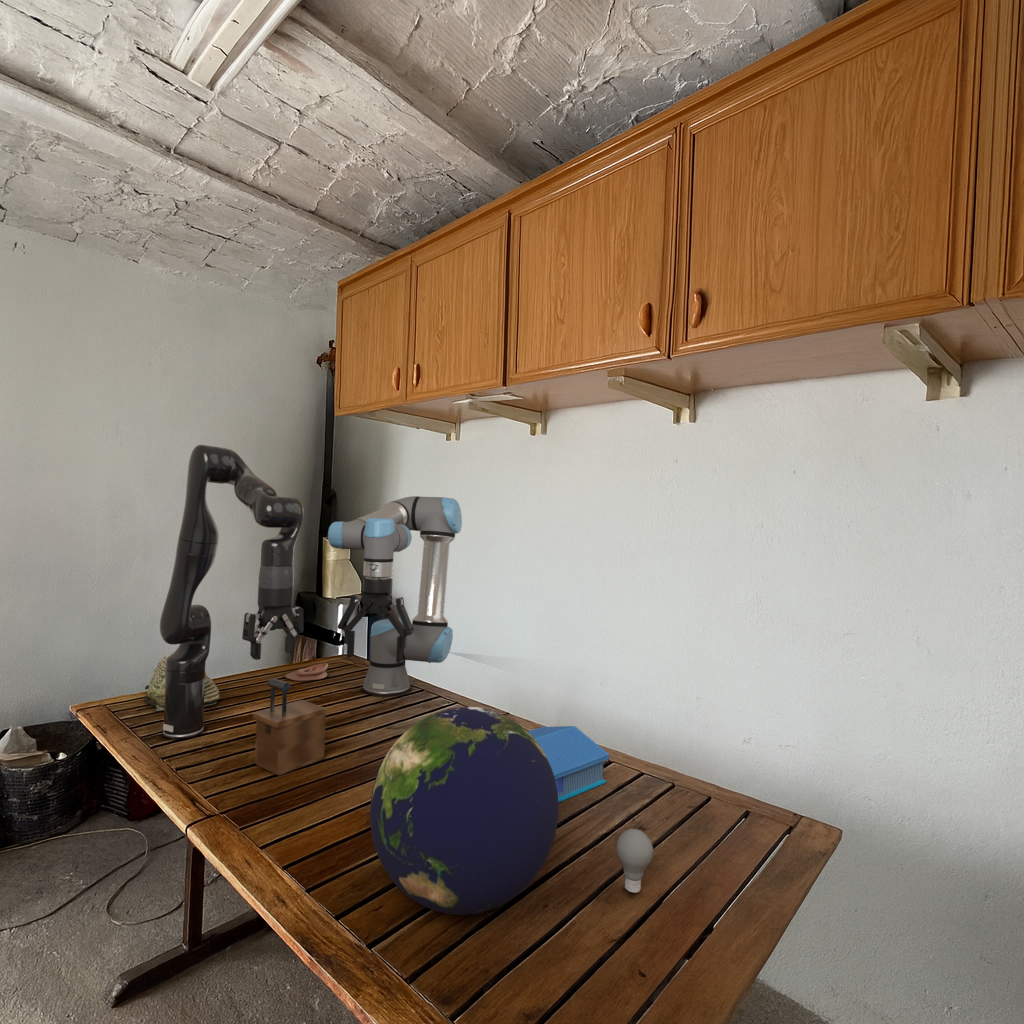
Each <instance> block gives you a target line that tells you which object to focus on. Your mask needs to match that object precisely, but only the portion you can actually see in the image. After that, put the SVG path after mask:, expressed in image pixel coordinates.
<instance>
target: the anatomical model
mask: <svg viewBox="0 0 1024 1024" xmlns="http://www.w3.org/2000/svg"><path fill="white" fill-rule="evenodd" d="M328 667H329V664H328V663H327V662H323V663H319V664H315V665H311V666H308V667H305V668H300V669H297V670H295V671H292V672H289V673H287V674H285V676H284V678H286V679H288V680H292V681H303V682H304V681H316V680H321V679H325V678H326V677H328V672H327V670H328Z"/></svg>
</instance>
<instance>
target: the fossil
mask: <svg viewBox="0 0 1024 1024" xmlns="http://www.w3.org/2000/svg"><path fill="white" fill-rule="evenodd" d="M170 655H171V654H165V655H164V656H163V657H162V658H161V659H160V660H159V662H158V663H157V666H156V667H155V669H154V670H153V672H152V675H151V677H150V680H149V684H148V685H149V688H148V689H147V695H148V697H149V698H148V699H149V700H150V701H151V702H153V703H155V706H156V707H155V706H154V707H155V711H158V712H159V711H162V712H163V711H164V705H165V674H166V660H167V658H168V657H169V656H170ZM147 695H146V696H147ZM220 698H221V696H220V690H219V688H218V686H217V685H216V683H215V682H214V681H213V679H212V678H211V677H209V675H208V674H207V672H206V671H205V693H204V707H207V706H213V705H215V704H217V703H218V701H219V699H220Z"/></svg>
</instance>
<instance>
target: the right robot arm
mask: <svg viewBox="0 0 1024 1024" xmlns="http://www.w3.org/2000/svg"><path fill="white" fill-rule="evenodd" d="M462 527H463V518H462V510H461V506H460V503H459V502H458V501H457V499H455V498H454V497H453V498H452V497H445V496H418V495H417V496H416V495H415V496H414V495H413V496H406V497H402V498H399V499H398V498H397V499H395V500H392V501H389V502H387V503H385V504H384V505H383V506H382V507H381V508H380V509H378V510H375V511H373V512H370V513H368V514H365V515H363V516H360V517H358V518H356V519H354V520H353V519H352V520H350V521H343V520H342V521H333V522H332V523H331V524H330V525H329V527H328V530H327V541H328V545H330V546H331V547H332V548H334V549H341V550H357V551H363V568H362V569H363V571H362V572H363V573H362V575H363V577H364V578H363V579H362V595H360V594H358V593H354V594H351V595H350V597H349V603H348V605H347V607H346V609H345V611H344V613H343V614H342V617H341V618H340V621H339V623H338V625H337V629H338V630H342V631H343V633H344V636H343V637H344V639H343V642H344V644H345V645H346V658H347V659H350V658H352V657H354V656H355V640H356V639H355V638H356V637H355V636H356V635H355V634H356V630H353V629H354V628H355V627H356V626H357V624H358V623H360V621H361V620H362V619H363V618H364V617H365V616H366V615H367V614H368V613H369V614H377V615H382V614H383V615H384V616H385V617H386V618H383V619H379V620H377V621H375V622H373V624H372V625H371V627H370V634H369V637H370V638H369V639H370V640H369V642H370V643H369V666H368V670H367V673H366V675H365V678H364V680H363V684H362V691H363V692H364V693H366V694H368V695H372V696H377V697H378V696H379V697H392V696H393V697H394V696H400V695H404V694H406V693H408V692H409V691H410V690H411V682H410V679H409V674H408V670H407V667H406V661H412V662H413V661H414V662H422V663H423V662H424V663H428V664H431V663H433V664H434V663H437V664H439V663H443V662H444V661H445V660H446V659H447V658H448V655H449V654H450V652H451V647H452V645H453V638H454V630H453V628H452V627H450V626H448V625H449V621H448V619H447V618H446V617H445V605H446V596H447V595H446V594H447V593H446V592H447V583H448V569H449V560H450V559H449V557H450V545H451V543H452V542H453V541H454V540H455V539H456V534H460V533H461V531H462ZM411 531H415V532H419V537H420V538H421V540H422V541H423V548H422V561H421V572H420V584H419V594H418V595H419V596H418V606H417V614H416V615H415V616H414V617H413V618H412V619H411V618H410V617H409V615H408V611H407V609H406V606H405V599H404V597H403V596H400V597H395V598H394V597H393V579H392V577H393V576H394V553H400V552H402V551H404V550H406V549H408V548H409V547H410V544H411V543H412V539H413V536H412V532H411ZM360 602H361V604H362V605H363V606H362V607H361V608H360V610H359V612H357V614H356V615H354V617H353V618H352V619H351V617H352V615H353V613H354V611H355V609H356V608H357V605H358V604H359V603H360ZM392 605H394V607H395V608H396V610H397V613H398V616H399V617H398V616H397V615H396V613H395V611H394V610H393V608H392V607H391V606H392ZM350 619H351V620H350ZM411 620H412V621H411Z"/></svg>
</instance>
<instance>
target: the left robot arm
mask: <svg viewBox="0 0 1024 1024" xmlns="http://www.w3.org/2000/svg"><path fill="white" fill-rule="evenodd" d="M208 483H212V484H219V485H221V484H222V485H223V484H225V485H227V484H228V485H231V486H233V492H234V496H235V497H236V498H237V500H238V501H239V502H240V503H241V504H242V505H244V506H245V507H246V508H247V509H249V511H250V513H251V514H252V516H253V520H254V521H255V523H256V524H258V525H259V526H261V527H263V528H269V529H274V528H276V529H278V528H279V531H278V533H277V534H276V535H275V536H273V537H269V538H266V539H263V541H262V542H261V546H260V566H259V570H258V571H259V572H258V583H257V586H258V587H257V606H258V610H257V612H255V613H254V612H253V613H251V612H245V613H244V615H243V625H242V636H241V639H242V640H243V641H246V642H250V649H249V650H250V651H249V652H250V653H249V655H250V657H251V658H252V659H253V660H256V661H260V660H261V657H262V640H263V639H264V637H265V636H267V635H268V634H269V632H273V631H275V630H283V632H284V633H285V634H286V635H285V637H284V641H285V642H284V652H285V653H287V654H293V653H294V650H295V649H296V637H297V636H298V635H299V634H303V633H304V630H305V627H304V624H305V623H304V608H303V607H300V606H296V605H295V606H293V603H294V585H295V570H294V561H295V559H294V557H295V547H296V543H297V539H298V537H299V535H300V531H301V528H302V525H303V521H304V517H305V510H304V506H303V503H302V502H301V501H300V500H299V498H297V497H293V496H278V493H277V491H276V490H275V489H274V488H273V487H272V486H271V485H269V484H268V483H266V482H265V481H264V480H262V479H261V478H259V477H258V476H257V475H256V474H255V473H254V472H253V471H252V470H251V468H250V467H249V466H248V464H246V462H245V461H244V460H243V458H242V457H241V456H240V455H239V454H238V453H237V452H236V451H234V450H232V449H230V448H226V447H220V446H214V445H207V444H197V445H196V446H195V447H194V448H193V449H192V451H191V453H190V457H189V461H188V466H187V477H186V487H185V488H186V489H185V498H184V499H185V502H184V508H183V513H182V519H181V525H180V528H179V534H178V538H177V545H176V551H175V557H174V564H173V567H172V572H171V578H170V583H169V588H168V591H167V595H166V598H165V601H164V604H163V608H162V611H161V615H160V619H159V633H160V637H161V638H162V641H164V642H165V643H166V644H168V645H173V646H174V645H178V647H177V648H176V649H175V650H174V651H173V652H172V653H170V654H169V655H170V656H169V657H168V658H167V660H166V674H165V705H164V710H163V723H162V725H163V728H162V737H164V738H166V739H169V740H185V739H190V738H191V739H192V738H194V737H197V736H199V735H202V734H203V732H204V730H205V729H204V727H205V725H204V722H205V721H204V718H205V706H204V693H205V672H206V664H207V663H206V662H207V659H208V657H209V654H210V647H211V639H212V637H211V636H212V617H211V614H210V612H209V610H208V609H207V608H206V607H205V605H202V604H196V603H195V604H193V601H194V596H195V594H196V591H197V589H198V588H199V586H200V584H201V583H202V582H203V580H204V579H205V577H206V575H207V574H208V573H209V571H210V570H211V569H212V566H213V564H214V563H215V560H216V557H217V553H218V552H217V551H218V546H219V541H220V531H219V528H218V526H217V524H216V521H215V518H214V517H213V515H212V513H211V511H210V508H209V505H208V502H207V501H208V500H207V486H208ZM292 606H293V607H292ZM291 617H292V621H291V620H290V619H291ZM256 623H257V624H256ZM148 688H149V684H147V685H146V686H145V688H144V690H148ZM144 702H145V703H146V704H148V705H149V706H152V707H154V708H156V706H155V703H154V702H153V701H152V700H150V698H149V697H148V695H146V696H145V697H144Z"/></svg>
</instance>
